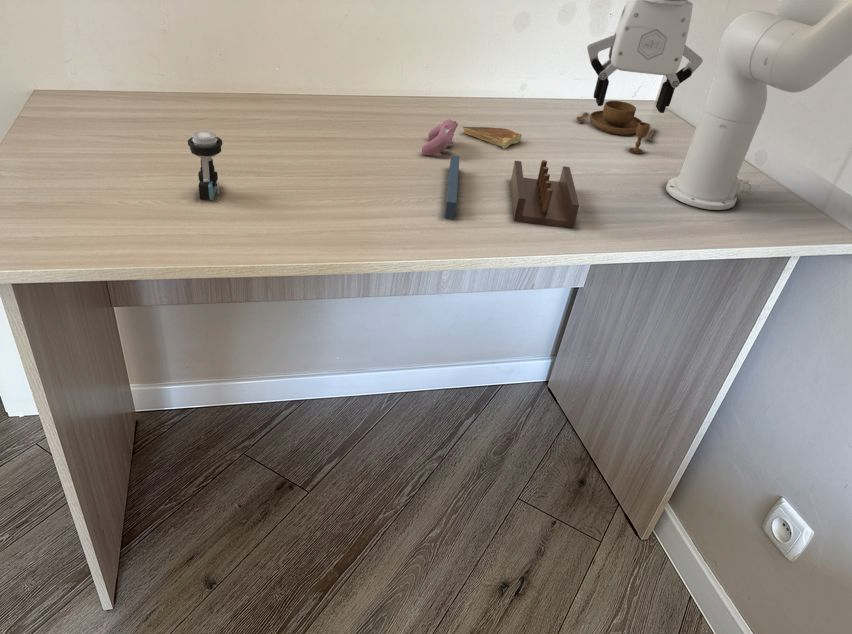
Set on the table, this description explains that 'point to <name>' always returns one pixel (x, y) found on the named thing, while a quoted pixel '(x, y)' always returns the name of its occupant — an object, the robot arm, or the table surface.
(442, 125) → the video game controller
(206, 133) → the push button
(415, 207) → the table surface
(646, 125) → the place setting
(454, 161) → the bar
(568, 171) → the rack
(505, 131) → the golden brown flat wedge
